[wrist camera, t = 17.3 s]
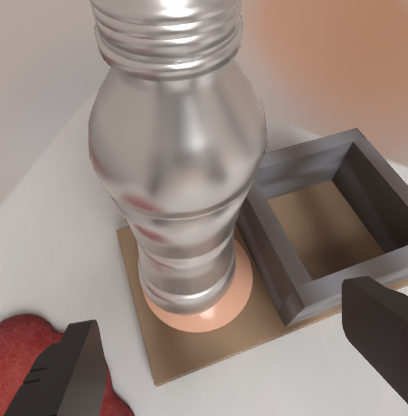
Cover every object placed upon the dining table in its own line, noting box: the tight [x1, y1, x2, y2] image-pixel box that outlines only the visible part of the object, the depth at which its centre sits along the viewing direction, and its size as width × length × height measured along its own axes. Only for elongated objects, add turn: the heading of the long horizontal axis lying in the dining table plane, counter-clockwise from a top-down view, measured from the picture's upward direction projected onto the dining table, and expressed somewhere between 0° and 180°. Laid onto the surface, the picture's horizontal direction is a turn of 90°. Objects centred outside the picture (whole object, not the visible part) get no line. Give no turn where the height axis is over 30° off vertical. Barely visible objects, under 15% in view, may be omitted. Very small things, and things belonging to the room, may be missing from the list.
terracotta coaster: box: [142, 238, 253, 333], centre depth 24 cm, size 8×8×1 cm
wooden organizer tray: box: [116, 128, 408, 386], centre depth 24 cm, size 21×12×6 cm, turn 110°
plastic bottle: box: [88, 0, 267, 316], centre depth 16 cm, size 6×7×20 cm
